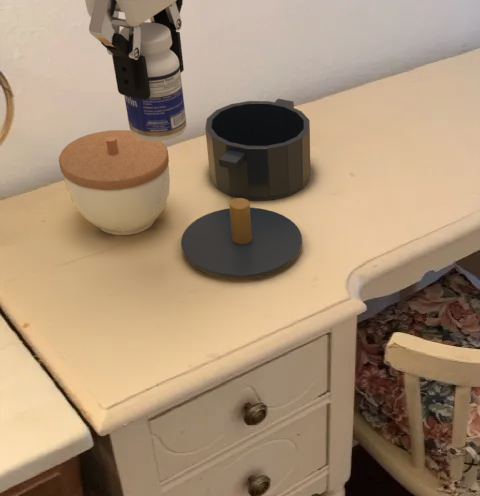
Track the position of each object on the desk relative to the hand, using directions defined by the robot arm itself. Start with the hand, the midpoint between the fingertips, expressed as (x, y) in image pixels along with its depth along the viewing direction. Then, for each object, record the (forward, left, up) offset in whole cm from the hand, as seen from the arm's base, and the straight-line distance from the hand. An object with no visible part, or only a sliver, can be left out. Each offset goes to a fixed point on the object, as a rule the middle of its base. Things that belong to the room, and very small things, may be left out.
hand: (151, 81), depth 82 cm
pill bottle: (0, 0, -5) cm, 5 cm away
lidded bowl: (-12, +8, -23) cm, 27 cm away
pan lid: (+4, +8, -23) cm, 24 cm away
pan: (-1, +25, -23) cm, 34 cm away
